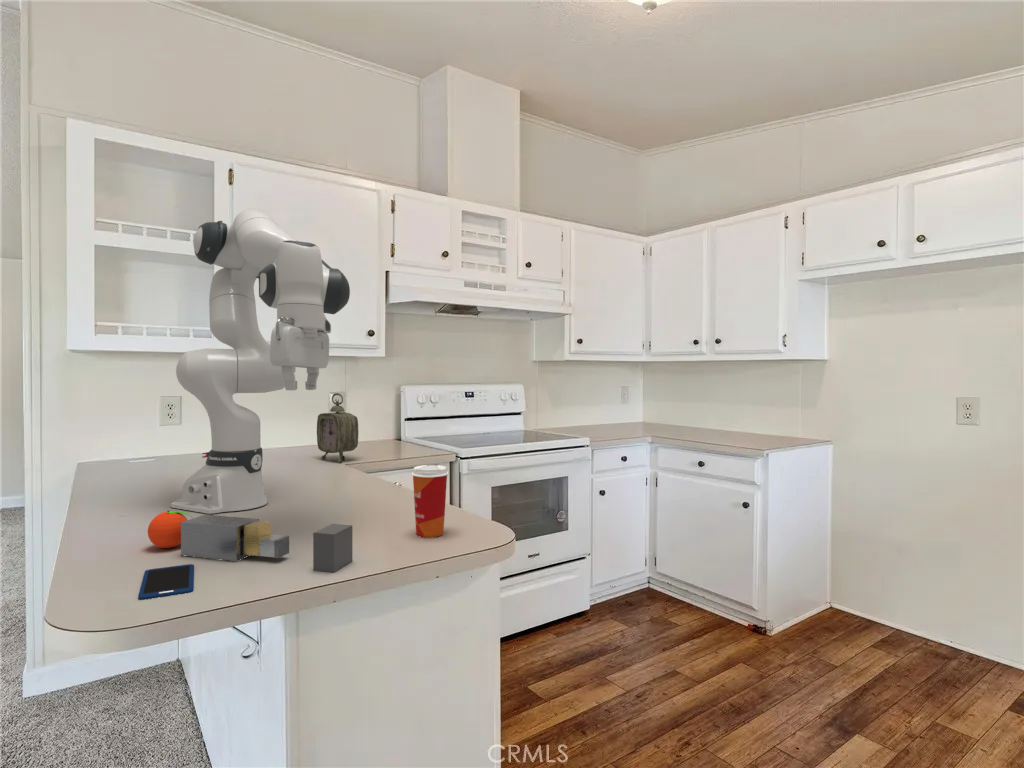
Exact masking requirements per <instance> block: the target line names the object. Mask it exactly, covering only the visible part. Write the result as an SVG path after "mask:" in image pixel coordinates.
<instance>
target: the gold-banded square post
mask: <svg viewBox="0 0 1024 768" xmlns="http://www.w3.org/2000/svg"><path fill="white" fill-rule="evenodd" d="M271 525H272V522H271V521H262V520H261V521H260V520H259V521H255V522H253V523H250V524H247V525H245V526H244V532H240V538H241V554H245V555H251V556H256V557H267V558H275V559H280V558H282V557H284V556H285V555H288V554H290V535H278V534H271V530H272V526H271Z"/></svg>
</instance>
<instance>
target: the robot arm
mask: <svg viewBox="0 0 1024 768" xmlns="http://www.w3.org/2000/svg"><path fill="white" fill-rule="evenodd" d="M232 222H233V223H232V224H228V223H224V222H223V220H218V221H210V222H209V221H207V222H204V223H202V224H200V225H199V227H198V229H197V230H196V232H195V233H194V236H193V240H192V241H193V242H192V244H193V249H194V255H195V257H196V258H197V259H198V260H199V261H201V262H203V263H206V264H208V265H215V266H216V267H221V268H220V269H218V270H217V271H216V272H215V273H214V274H213V276H212V279H211V284H210V289H209V298H208V300H209V302H208V303H209V304H208V306H209V310H208V311H209V312H208V313H209V329H210V332H211V334H212V335H213V337H214V338H216V340H218V341H219V343H220V342H221V343H222V344H224V345H227V346H229V347H231V348H202V349H201V348H200V349H195V350H189V351H186V352H184V353H183V354H182V355H181V356H180V358H179V360H178V361H177V364H176V368H175V369H176V370H175V374H176V378H177V381H178V383H179V385H180V386H181V387H182V388H183V389H184V390H186V391H187V392H188V393H189V394H192V395H193V396H194V397H195V398H196V399H197V400H198V401H199V402H200V403H201V404H202V406H203V407H204V409H205V411H206V413H207V416H208V419H209V426H210V434H211V435H210V436H211V437H210V438H211V449H210V450H209V451H208V452H203V453H201V455H203V456H202V457H201V458H203V459H204V458H206V460H205V465H203V466H202V467H201V468H200V469H198V471H196V472H195V473H194V474H193V475H191V476H190V477H188V478H187V479H186V480H185V481H184V483H183V485H182V491H181V498H179V499H176V500H174V501H173V502H171V503H170V508H172V509H178V510H185V511H189V512H190V511H191V512H196V513H203V514H206V515H214V514H219V513H226V512H227V513H228V512H236V511H237V512H238V511H247V510H251V509H256V508H260V507H263V506H265V505H267V504H268V503H269V501H268V498H267V496H266V495H267V494H266V492H265V487H264V482H263V481H264V480H263V472H262V466H263V461H264V460H263V447H261V418H260V417H259V415H258V414H257V413H256V412H255V411H253V410H252V409H249V408H247V407H245V406H243V405H240V404H237V403H236V402H235V401H234V398H233V395H234V394H260V393H261V394H263V393H264V394H265V393H270V392H276V391H280V390H283V389H284V388H285V390H286V391H297V390H298V381H297V380H296V375H295V373H296V368H303V369H306V374H307V377H306V381H305V389H306V390H307V391H313V390H314V391H315V390H317V381H318V377H319V374H320V369H326V368H327V367H328V364H329V360H330V336H329V334H331V332H332V323H331V322H330V321H329V320H328V319H327V317H326V314H330V315H336V314H337V313H339V312H340V311H341V310H342V309H343V308H345V306H347V304H348V302H349V301H350V300H349V299H350V295H351V290H350V289H351V288H350V284H349V280H348V279H347V276H345V274H344V273H343V272H342V271H341V270H340V269H339V268H333V267H331V266H330V265H328V263H326V262H325V261H324V260H323V259H322V255H321V254H322V253H321V250H320V247H319V246H318V245H316V244H315V243H312V242H307V241H299V240H296V239H295V238H293V237H292V236H291V235H289V234H288V233H287V232H286V231H284V230H283V229H282V228H281V227H280V226H279V224H278V223H277V222H276V221H275V220H274V219H273V218H272V217H271V216H270V215H268V214H267V213H265V212H263V211H262V210H259V209H255V208H247V209H244V210H242V211H240V212H239V213H237V215H236V216H235V218H234V219H233V221H232ZM257 279H258V298H260V300H261V301H262V302H263V303H264V304H265V305H266V306H268V308H272V309H275V310H276V322H275V326H274V327H273V328H272V330H271V333H270V344H269V342H268V341H267V340H266V339H265V338H264V337H263V335H262V332H261V331H260V328H259V324H258V315H257V305H256V304H257V303H256V297H255V289H254V288H255V287H254V286H255V282H256V281H257Z"/></svg>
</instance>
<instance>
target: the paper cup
mask: <svg viewBox="0 0 1024 768" xmlns="http://www.w3.org/2000/svg"><path fill="white" fill-rule="evenodd" d="M448 475H449V472H448V470H447V467H446V466H445V465H439V464H437V465H435V464H430V465H428V464H425V465H418V466H415V467H413V469H412V472H411V476H412V481H413V482H412V483H413V499H414V500H413V501H414V519H415V534H416V536H417V535H418V536H417V537H419V536H422V537H421V538H423V537H434V538H437V537H436V536H439V537H441V536H443V535H444V528H445V518H446V517H445V515H446V514H445V513H446V497H447V495H446V494H447V482H448ZM442 534H443V535H442ZM440 535H441V536H440Z"/></svg>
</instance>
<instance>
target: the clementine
mask: <svg viewBox="0 0 1024 768" xmlns="http://www.w3.org/2000/svg"><path fill="white" fill-rule="evenodd" d="M184 514H185V515H187V516H190V517H191V519H193V518H194V516H193V515H191V514H190V513H188V512H185V511H182V510H167V511H163V512H160V513H158V514H157V515H155V516H154V518H153V519H152V520H151V521H150V522H149V524H148V527H147V536H148V539H149V540H150V542H151V543H152V544H153V545H154V546H156V547H158V548H161V549H172V548H174V547H177V546H178V545H179V546H180V545H181V522H184V521H187V520H188V519H187V517H186V516H185V515H184Z"/></svg>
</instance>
